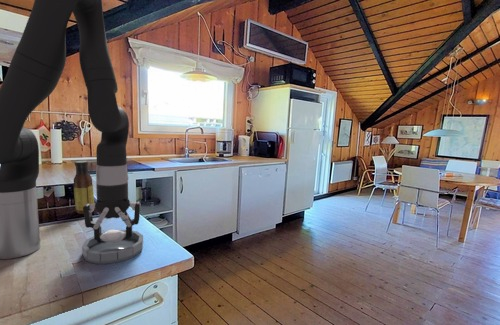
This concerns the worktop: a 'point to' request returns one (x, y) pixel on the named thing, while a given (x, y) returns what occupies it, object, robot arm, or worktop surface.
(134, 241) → the round dish
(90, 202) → the sauce bottle
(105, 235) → the dumpling
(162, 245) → the worktop surface
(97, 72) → the robot arm
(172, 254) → the worktop surface
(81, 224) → the worktop surface
